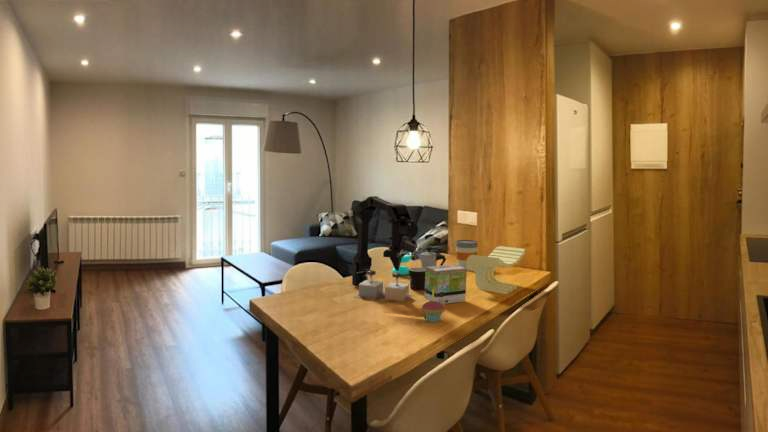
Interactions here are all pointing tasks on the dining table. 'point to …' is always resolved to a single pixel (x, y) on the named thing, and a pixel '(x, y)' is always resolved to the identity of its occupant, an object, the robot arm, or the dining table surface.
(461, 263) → the reusable coffee cup
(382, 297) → the serving board
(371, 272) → the inner press plunger
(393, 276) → the outer press plunger
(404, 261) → the donuts
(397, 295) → the block
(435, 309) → the cupcake
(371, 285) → the grey block
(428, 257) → the coffee maker
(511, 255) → the slatted curved stool
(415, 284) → the coffee mug
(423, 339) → the dining table surface
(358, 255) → the robot arm
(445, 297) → the tea box
